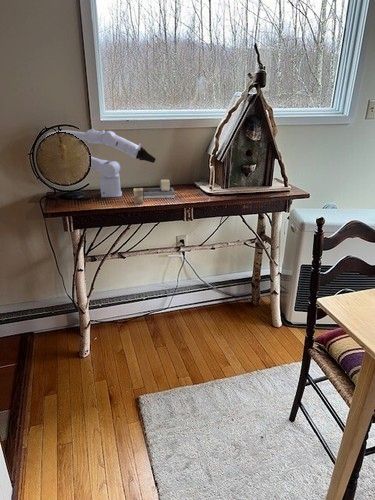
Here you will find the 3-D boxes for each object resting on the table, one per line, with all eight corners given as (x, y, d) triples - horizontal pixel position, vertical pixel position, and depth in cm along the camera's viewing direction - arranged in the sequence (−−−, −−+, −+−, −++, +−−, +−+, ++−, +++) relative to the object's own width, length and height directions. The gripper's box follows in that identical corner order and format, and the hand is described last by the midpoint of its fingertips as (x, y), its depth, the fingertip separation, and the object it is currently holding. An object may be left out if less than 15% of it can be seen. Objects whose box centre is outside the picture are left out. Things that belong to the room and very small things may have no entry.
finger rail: (136, 198, 169) (135, 183, 166) (136, 193, 177) (135, 179, 174) (174, 197, 171) (174, 182, 168) (172, 192, 180) (172, 178, 177)
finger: (134, 203, 162) (133, 190, 160) (134, 201, 166) (133, 188, 163) (144, 203, 163) (143, 190, 160) (143, 200, 166) (143, 188, 164)
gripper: (128, 136, 157) (156, 150, 158) (133, 140, 172) (159, 153, 173) (121, 151, 158) (149, 165, 159) (127, 154, 173) (153, 167, 174)
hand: (154, 160), depth 166 cm, fingers open, 7 cm apart
